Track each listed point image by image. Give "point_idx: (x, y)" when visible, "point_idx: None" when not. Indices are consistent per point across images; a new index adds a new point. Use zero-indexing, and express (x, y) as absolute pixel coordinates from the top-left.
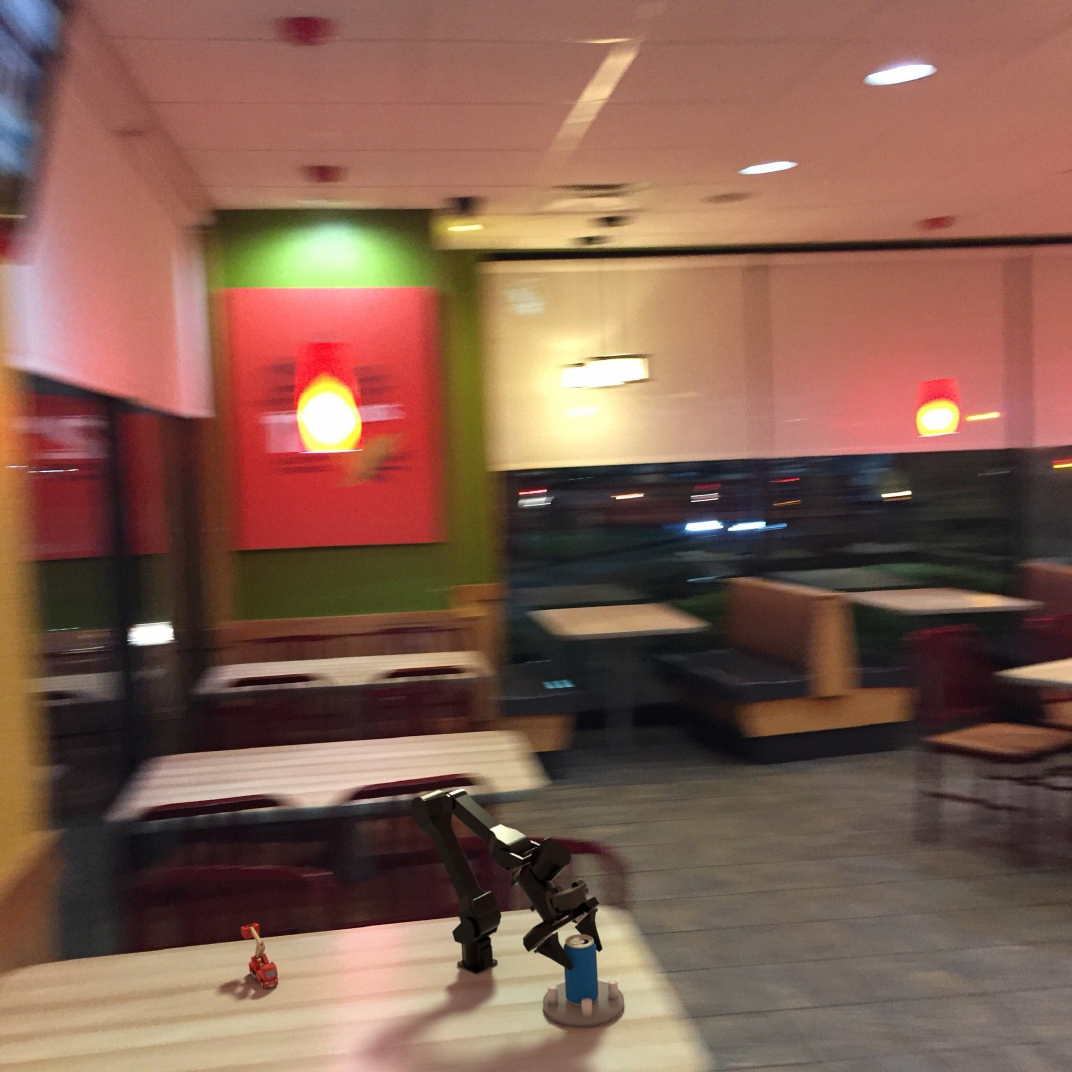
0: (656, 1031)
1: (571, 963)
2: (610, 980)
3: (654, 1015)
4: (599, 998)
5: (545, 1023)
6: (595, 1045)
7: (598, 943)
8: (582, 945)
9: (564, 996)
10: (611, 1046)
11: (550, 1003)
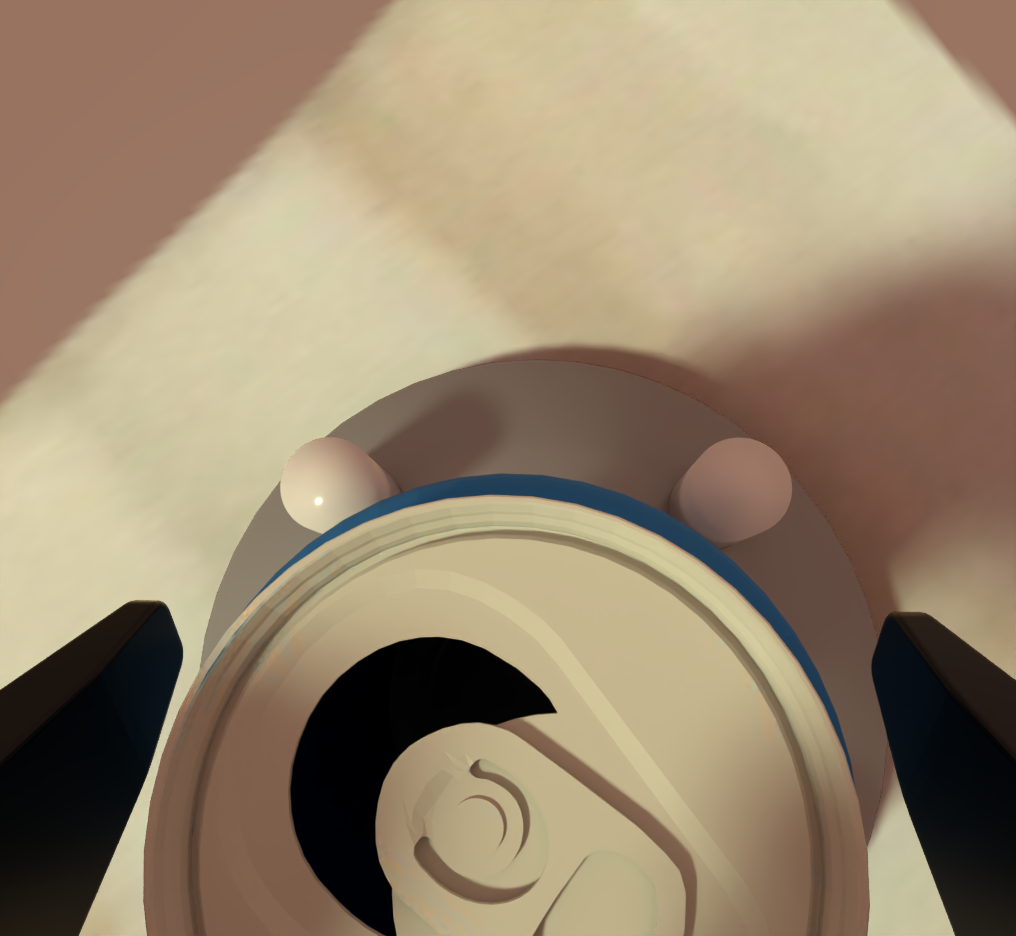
0: (516, 87)
1: (939, 651)
2: (308, 520)
3: (361, 196)
4: None
5: None
6: (900, 290)
7: (104, 663)
8: (604, 662)
9: None
10: (838, 203)
11: None
